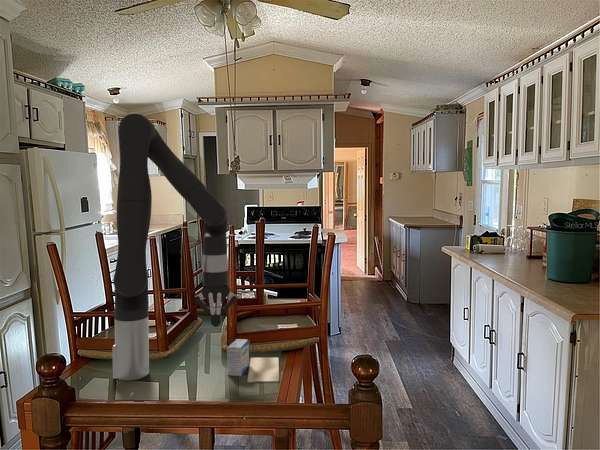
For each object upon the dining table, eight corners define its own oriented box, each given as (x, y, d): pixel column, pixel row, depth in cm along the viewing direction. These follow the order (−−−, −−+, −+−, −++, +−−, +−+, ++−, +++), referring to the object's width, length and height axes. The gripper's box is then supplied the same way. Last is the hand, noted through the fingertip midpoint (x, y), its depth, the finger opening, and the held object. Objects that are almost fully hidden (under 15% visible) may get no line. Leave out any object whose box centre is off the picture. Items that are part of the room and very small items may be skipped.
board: (247, 382, 125) (247, 381, 125) (250, 358, 143) (250, 357, 143) (279, 382, 126) (279, 380, 125) (278, 358, 143) (278, 357, 143)
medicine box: (241, 376, 129) (241, 348, 128) (226, 375, 130) (226, 346, 129) (249, 366, 137) (249, 339, 136) (235, 365, 137) (235, 338, 137)
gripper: (190, 271, 126) (191, 330, 128) (236, 271, 127) (237, 329, 129) (195, 267, 134) (196, 322, 135) (238, 266, 135) (239, 322, 136)
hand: (216, 326), depth 132 cm, fingers closed
